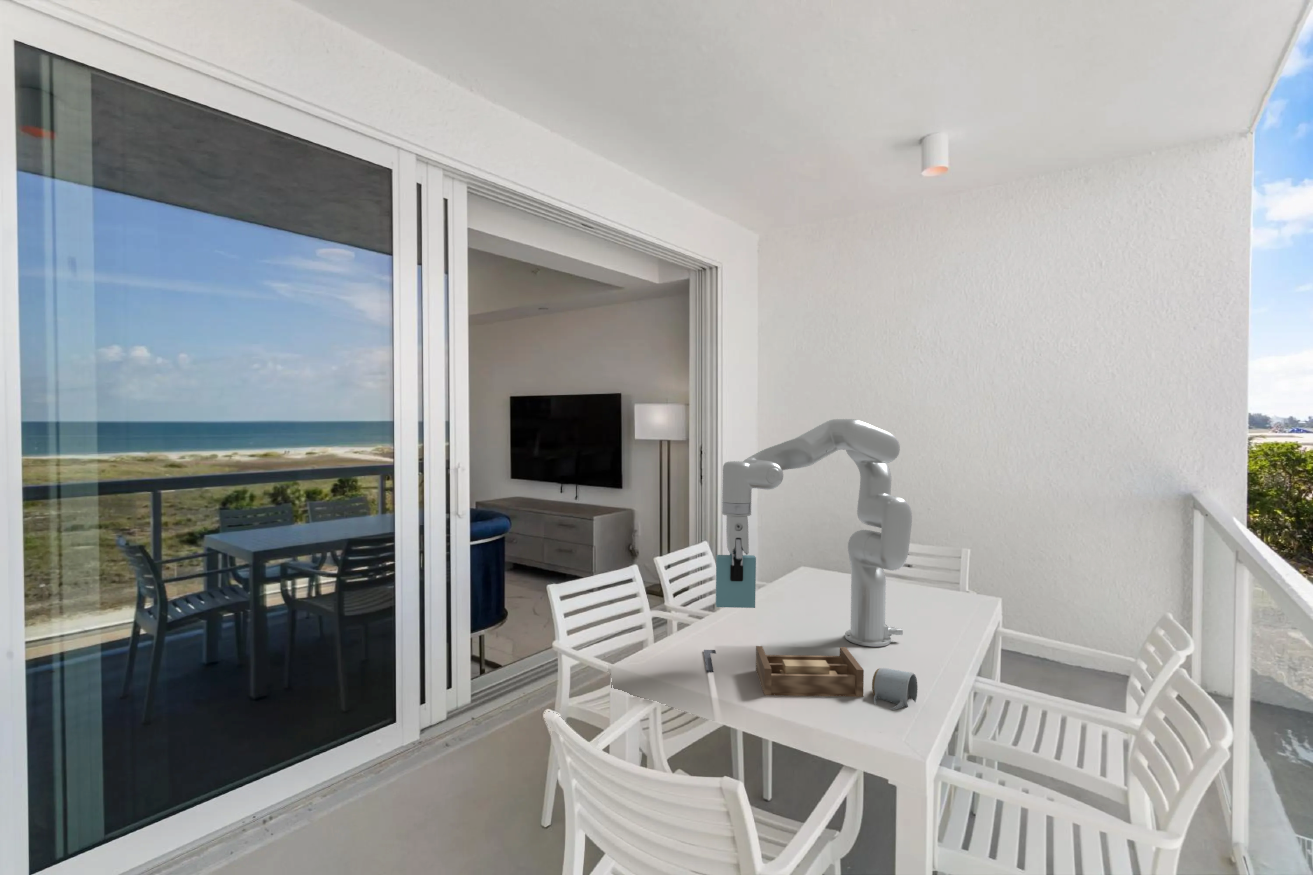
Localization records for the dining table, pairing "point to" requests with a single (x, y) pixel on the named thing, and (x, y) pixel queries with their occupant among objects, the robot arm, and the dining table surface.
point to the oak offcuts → (806, 667)
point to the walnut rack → (810, 676)
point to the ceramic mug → (894, 686)
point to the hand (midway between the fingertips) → (735, 578)
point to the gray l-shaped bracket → (709, 660)
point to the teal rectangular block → (735, 583)
